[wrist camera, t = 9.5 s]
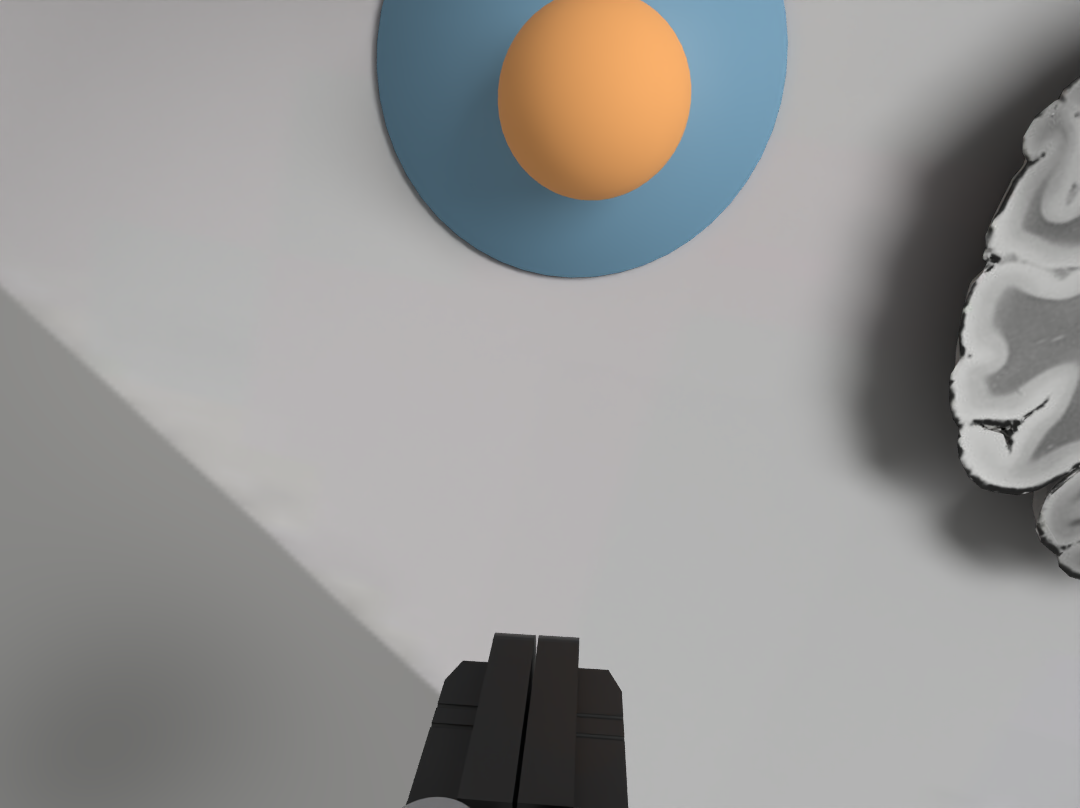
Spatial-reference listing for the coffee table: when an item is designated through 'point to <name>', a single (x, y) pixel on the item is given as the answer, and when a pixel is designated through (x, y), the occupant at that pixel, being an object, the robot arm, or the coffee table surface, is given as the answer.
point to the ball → (594, 96)
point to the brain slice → (1029, 338)
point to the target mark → (520, 201)
